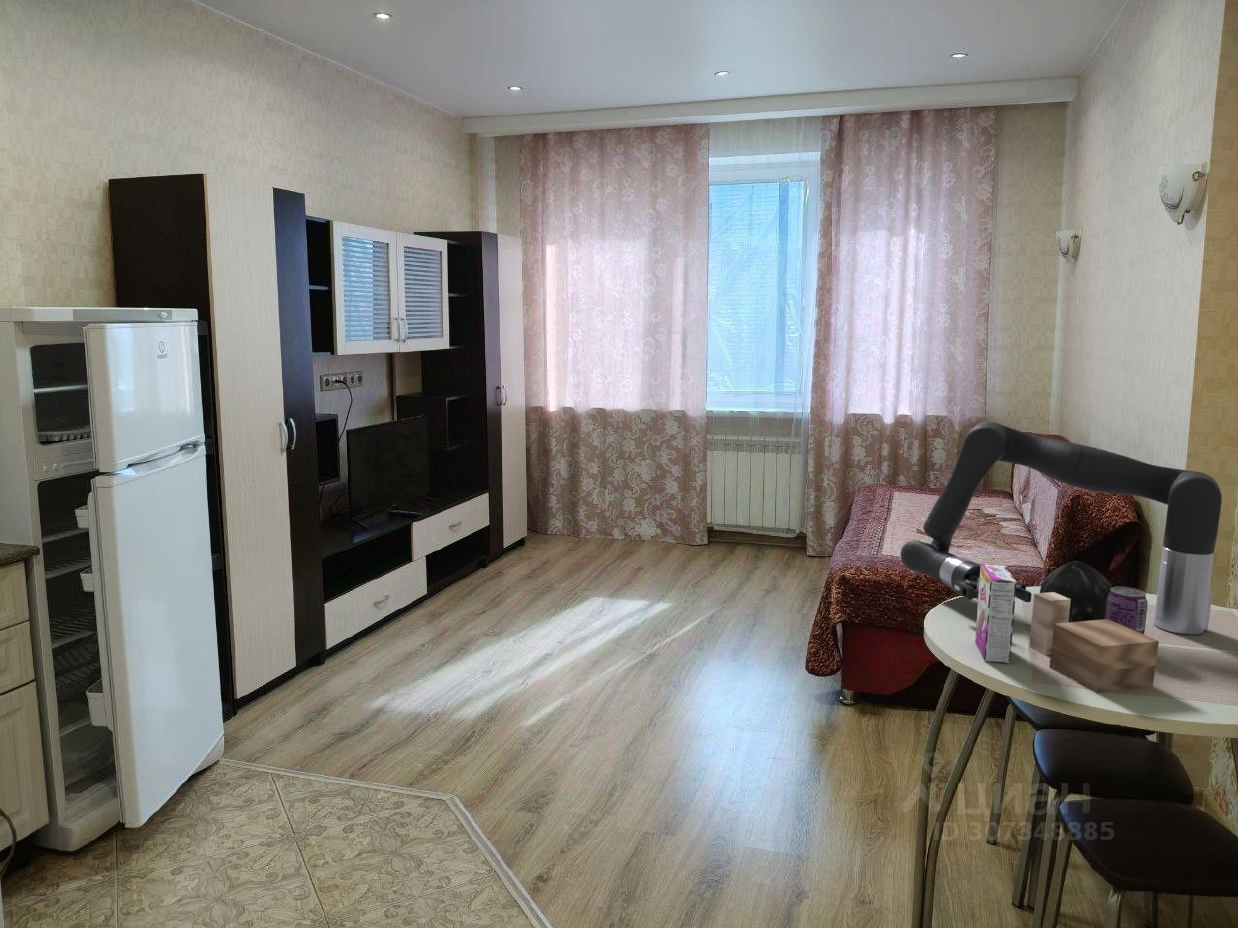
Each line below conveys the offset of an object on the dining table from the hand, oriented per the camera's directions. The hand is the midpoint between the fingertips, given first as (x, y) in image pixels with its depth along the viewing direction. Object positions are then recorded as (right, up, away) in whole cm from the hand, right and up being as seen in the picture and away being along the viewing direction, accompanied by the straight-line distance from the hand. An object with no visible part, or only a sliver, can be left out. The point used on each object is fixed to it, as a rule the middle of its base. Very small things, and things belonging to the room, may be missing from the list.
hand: (1012, 598), depth 194 cm
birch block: (+3, -9, -9) cm, 13 cm away
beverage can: (+18, -9, -8) cm, 22 cm away
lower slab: (+7, -11, -23) cm, 26 cm away
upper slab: (+7, -7, -23) cm, 25 cm away
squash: (+16, -6, +6) cm, 19 cm away
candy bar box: (-9, -9, -12) cm, 17 cm away
